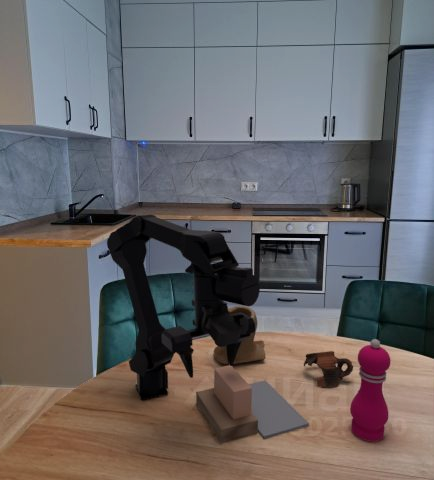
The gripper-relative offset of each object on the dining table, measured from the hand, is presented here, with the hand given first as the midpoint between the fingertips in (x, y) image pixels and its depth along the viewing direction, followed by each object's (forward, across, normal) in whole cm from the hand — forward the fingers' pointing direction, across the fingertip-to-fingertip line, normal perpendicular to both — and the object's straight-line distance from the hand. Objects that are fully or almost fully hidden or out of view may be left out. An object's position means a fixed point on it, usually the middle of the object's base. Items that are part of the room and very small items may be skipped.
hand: (211, 370), depth 81 cm
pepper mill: (+14, +26, -17) cm, 34 cm away
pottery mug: (+13, +34, +2) cm, 37 cm away
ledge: (+12, +3, +1) cm, 12 cm away
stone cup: (+12, +21, +21) cm, 32 cm away
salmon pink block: (+9, +5, 0) cm, 10 cm away
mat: (+12, +13, 0) cm, 18 cm away
